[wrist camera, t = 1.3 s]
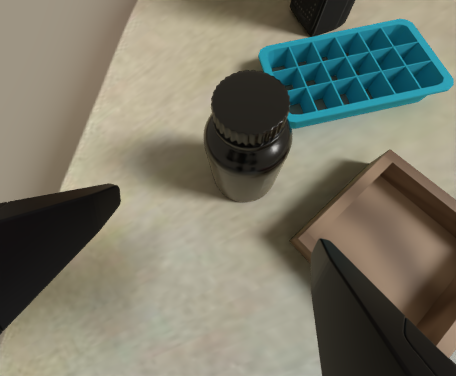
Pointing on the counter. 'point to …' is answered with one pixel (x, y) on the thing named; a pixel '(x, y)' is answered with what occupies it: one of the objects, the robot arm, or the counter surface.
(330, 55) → the ice cube tray
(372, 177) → the holder
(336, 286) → the robot arm
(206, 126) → the supplement bottle
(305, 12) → the portable radio
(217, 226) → the counter surface
